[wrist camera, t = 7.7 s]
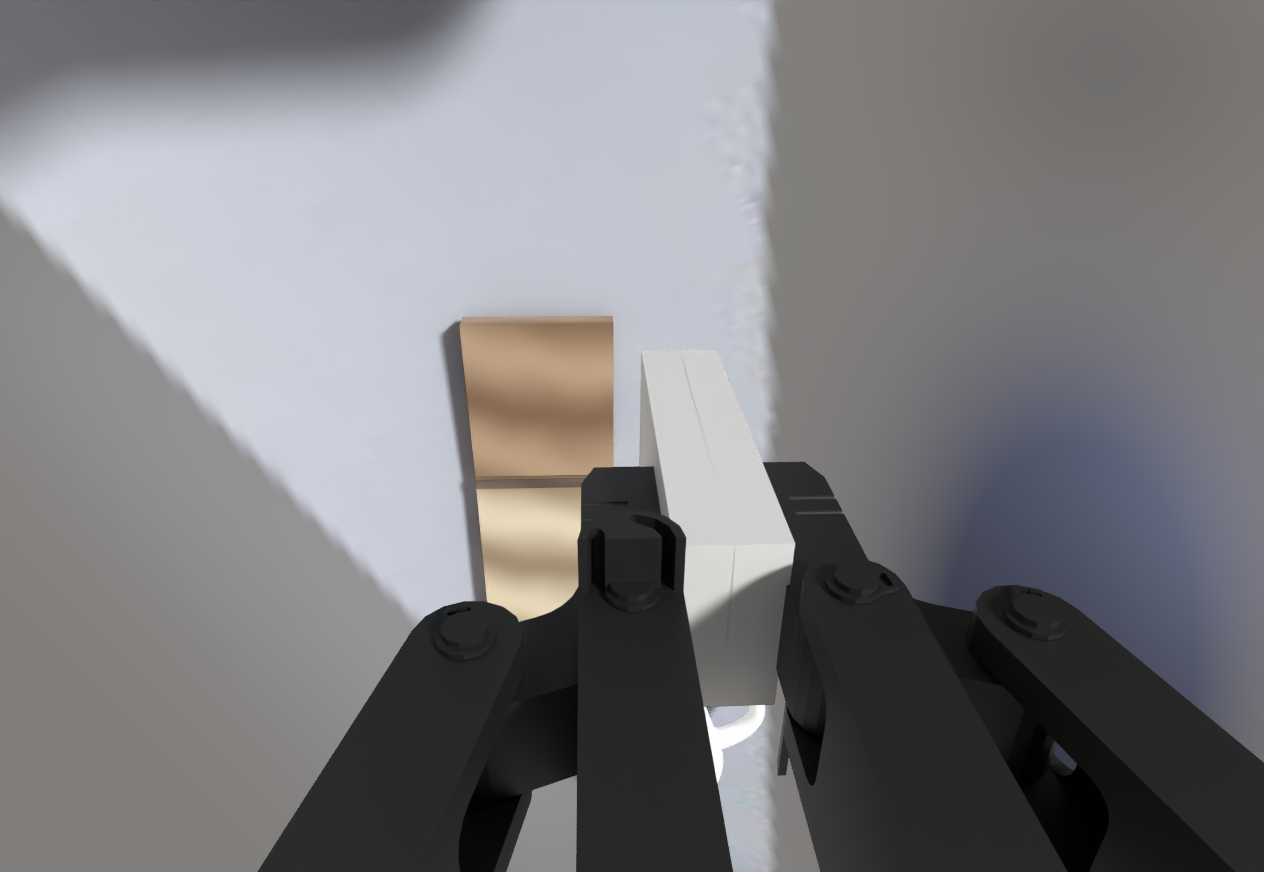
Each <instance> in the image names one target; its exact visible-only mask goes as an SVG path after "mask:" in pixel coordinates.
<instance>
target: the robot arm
mask: <svg viewBox="0 0 1264 872" xmlns="http://www.w3.org/2000/svg"><path fill="white" fill-rule="evenodd" d="M577 547H578V588H577V590H576V591H575V593H574V594H573V596H572V597H571V598H570V599H569V600H568V601H567V602H566V603H565V604H563V605H562V606H560V607H558V608H557V609H555V610H553V611H552V612H549V613H547V614H544V615H541V616H538V617H535V618H531V619H527V620H524V621H520V622H519V621H518V619H517V616H515V615H514V614H513V613H511V612H510V611H509V610H507V609H506V608H505V607H503V606H499V605H496V604H492V603H489V602H485V601H464V602H460V603H456V604H452V605H448V606H444V607H442V608H440V609H438V610H436V611H435V612H433V613H431V614H429V615H427V616H425V617H424V618H423V620H422V621H421V622H420V623H419V624H418V625H417V626H416V627H415V628H414V629H413V630H412V632H411V633H410V635H409V636H408V638H407V640H406V641H405V643H404V644H403V646H402V647H401V649H400V650H399V652H398V654H397V655H396V656H395V658H394V660H393V661H392V663H391V664H390V666H389V668H388V669H387V671H386V672H385V674H384V675H383V677H382V678H381V680H380V681H379V683H378V685H377V686H376V688H375V689H374V691H373V693H372V694H371V696H370V697H369V699H368V700H367V702H366V703H365V705H364V706H363V708H362V710H361V711H360V713H359V714H358V716H357V717H356V719H355V720H354V722H353V724H352V725H351V727H350V728H349V730H348V732H347V733H346V735H345V736H344V738H343V739H342V741H341V742H340V744H339V746H338V747H337V749H336V750H335V752H334V753H333V755H332V756H331V758H330V759H329V761H328V763H327V764H326V766H325V767H324V769H323V770H322V772H321V774H320V775H319V777H318V778H317V780H316V781H315V783H314V785H313V786H312V788H311V789H310V791H309V792H308V794H307V795H306V797H305V798H304V800H303V802H302V803H301V805H300V806H299V808H298V809H297V811H296V813H295V814H294V816H293V817H292V819H291V820H290V822H289V823H288V825H287V827H286V828H285V830H284V831H283V833H282V834H281V836H280V837H279V839H278V841H277V842H276V844H275V845H274V847H273V848H272V850H271V852H270V853H269V855H268V856H267V858H266V859H265V861H264V863H263V864H262V866H261V867H260V869H259V870H258V872H506V871H507V868H508V865H509V862H510V859H511V856H512V854H513V850H514V848H515V845H516V842H517V839H518V836H519V833H520V830H521V827H522V825H523V821H524V819H525V816H526V813H527V810H528V807H529V805H530V802H531V797H532V790H534V789H537V788H540V787H543V786H546V785H549V784H551V783H555V782H558V781H560V780H563V779H566V778H569V777H572V776H575V775H577V855H576V862H577V863H576V872H733V869H732V864H731V858H730V852H729V846H728V841H727V835H726V829H725V824H724V818H723V812H722V807H721V801H720V795H719V790H718V784H717V778H716V773H715V767H714V761H713V756H712V750H711V744H710V739H709V733H708V727H707V722H706V716H705V710H704V707H717V706H748V705H774V704H775V697H776V689H777V681H778V677H779V680H780V683H781V687H782V690H783V694H784V697H785V701H786V703H785V710H784V718H783V725H782V733H781V739H780V747H779V754H778V761H777V763H778V775H786V771H787V764H788V758H790V762H791V766H792V769H793V773H794V777H795V780H796V784H797V788H798V791H799V795H800V798H801V802H802V806H803V809H804V813H805V817H806V820H807V824H808V828H809V831H810V835H811V839H812V842H813V846H814V850H815V853H816V857H817V861H818V864H819V868H820V872H1264V763H1263V762H1262V761H1261V760H1260V759H1259V758H1258V757H1256V756H1255V755H1254V754H1253V753H1251V752H1250V751H1249V750H1248V749H1247V748H1245V747H1244V746H1243V745H1242V744H1241V743H1239V742H1238V741H1237V740H1236V739H1234V738H1233V737H1232V736H1231V735H1230V734H1228V733H1227V732H1226V731H1225V730H1224V729H1222V728H1221V727H1220V726H1218V724H1216V723H1215V722H1214V721H1213V720H1211V719H1210V718H1209V717H1208V716H1206V715H1205V714H1204V713H1203V712H1202V711H1201V710H1199V709H1198V708H1197V707H1196V706H1194V705H1193V704H1192V703H1191V702H1190V701H1189V700H1187V699H1186V698H1185V697H1184V696H1182V695H1181V694H1180V693H1179V692H1178V691H1176V690H1175V689H1174V688H1173V687H1172V686H1170V685H1169V684H1168V683H1167V682H1166V681H1164V680H1163V679H1162V678H1161V677H1159V676H1158V675H1157V674H1156V673H1155V672H1153V671H1152V670H1151V669H1150V668H1148V667H1147V666H1146V665H1145V664H1143V662H1141V661H1140V660H1139V659H1138V658H1136V657H1135V656H1134V655H1133V654H1132V653H1130V652H1129V651H1128V650H1127V649H1126V648H1124V647H1123V646H1122V645H1121V644H1120V643H1118V642H1117V641H1116V640H1115V639H1113V638H1112V637H1111V636H1110V635H1109V634H1107V633H1106V632H1105V631H1104V630H1102V629H1101V628H1100V627H1099V626H1098V625H1097V624H1095V623H1094V622H1093V621H1092V620H1091V619H1089V618H1088V617H1087V616H1086V615H1084V614H1083V613H1082V612H1081V611H1080V610H1078V609H1077V608H1075V607H1074V606H1072V605H1071V604H1069V603H1067V602H1066V601H1064V600H1063V599H1061V598H1060V597H1057V596H1055V595H1052V594H1050V593H1047V592H1044V591H1042V590H1039V589H1035V588H1030V587H1024V586H1019V585H1007V586H996V587H993V588H991V589H989V590H986V591H984V592H982V594H981V595H980V597H979V598H978V599H977V601H976V603H975V607H974V610H973V612H972V611H967V610H961V609H956V608H951V607H945V606H940V605H935V604H931V603H927V602H923V601H919V600H916V599H914V598H912V596H911V594H910V592H909V590H908V589H907V587H906V585H905V584H904V583H903V582H902V581H901V580H900V578H898V576H897V575H896V574H895V573H893V572H892V571H890V570H889V569H887V568H885V567H884V566H882V565H880V564H878V563H875V562H871V561H869V560H868V559H867V557H866V555H865V553H864V551H863V549H862V547H861V545H860V543H859V541H858V540H857V538H856V536H855V534H854V532H853V530H852V528H851V526H850V524H849V523H848V521H847V519H846V517H845V515H844V514H842V509H841V507H840V505H839V504H838V502H837V500H836V499H834V494H833V492H832V490H831V488H830V487H829V485H828V483H827V481H826V479H825V477H824V476H822V475H821V474H820V473H818V472H817V471H816V470H814V469H813V468H812V467H810V466H809V465H808V464H806V463H805V462H762V460H761V457H760V455H759V452H758V450H757V447H756V445H755V443H754V440H753V438H752V435H751V433H750V430H749V428H748V425H747V423H746V420H745V418H744V415H743V413H742V410H741V408H740V405H739V403H738V400H737V398H736V395H735V393H734V390H733V388H732V385H731V383H730V380H729V378H728V376H727V373H726V371H725V368H724V366H723V363H722V361H721V358H720V356H719V353H718V351H717V350H641V398H640V456H639V467H594V468H593V469H592V471H591V472H590V473H589V474H588V476H587V477H586V478H585V480H584V481H583V482H582V483H581V531H580V534H579V537H578V539H577ZM1057 743H1058V744H1059V745H1060V746H1061V747H1062V748H1063V749H1064V750H1065V751H1066V753H1067V754H1068V755H1070V757H1071V758H1072V759H1073V760H1074V761H1075V762H1076V763H1077V766H1076V769H1075V770H1072V769H1070V768H1068V767H1067V766H1066V765H1065V764H1063V763H1062V762H1061V761H1060V760H1059V759H1058V758H1057V757H1056V756H1055V754H1054V751H1055V748H1056V746H1057Z"/></svg>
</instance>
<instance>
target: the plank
mask: <svg viewBox="0 0 1264 872" xmlns="http://www.w3.org/2000/svg"><path fill="white" fill-rule="evenodd" d="M459 328H460V337H461V347H462V356H463V365H464V375H465V384H466V394H467V403H468V412H469V422H470V431H471V441H472V450H473V459H474V469H475V477H501V476H556V475H588V474H589V473H590V472H591V471H592V469H593V468H594V467H613V316H580V317H462V319H461V322H460V325H459Z"/></svg>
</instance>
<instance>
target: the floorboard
mask: <svg viewBox="0 0 1264 872" xmlns="http://www.w3.org/2000/svg"><path fill="white" fill-rule="evenodd" d="M587 476H588V475H556V476H501V477H476V479H475V484H476V491H477V502H478V512H479V523H480V533H481V544H482V554H483V564H484V575H485V585H486V596H487V602H489V603H492V604H496V605H499V606H503V607H505V608H506V609H507V610H509V611H510V612H511V613H513V614H514V615H515V616H517V619H518V621H519V622H520V621H524V620H527V619H531V618H535V617H538V616H541V615H544V614H547V613H549V612H552V611H553V610H555V609H557V608H558V607H560V606H562V605H563V604H565V603H566V602H567V601H568V600H569V599H570V598H571V597H572V596H573V594H574V593H575V591H576V590H577V588H578V547H577V539H578V537H579V534H580V531H581V483H582V482H583V481H584V480H585V478H586V477H587Z"/></svg>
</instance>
